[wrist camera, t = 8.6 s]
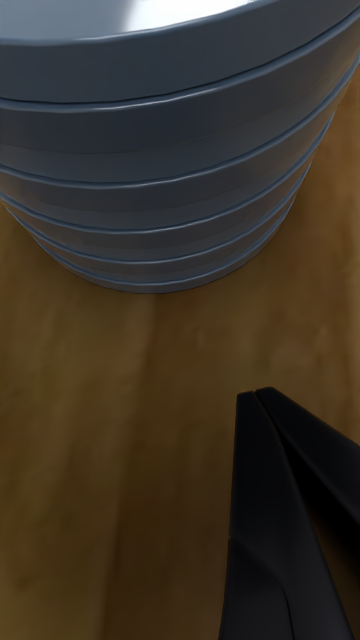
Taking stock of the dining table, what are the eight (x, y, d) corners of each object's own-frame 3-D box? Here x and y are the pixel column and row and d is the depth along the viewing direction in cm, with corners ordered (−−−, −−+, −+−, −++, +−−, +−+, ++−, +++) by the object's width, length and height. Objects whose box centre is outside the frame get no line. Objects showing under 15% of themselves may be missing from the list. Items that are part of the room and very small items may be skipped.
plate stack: (303, 301, 17) (555, 48, 5) (-11, 286, 18) (-401, 47, 6) (292, 61, 21) (411, -355, 10) (45, 60, 22) (-115, -319, 11)
